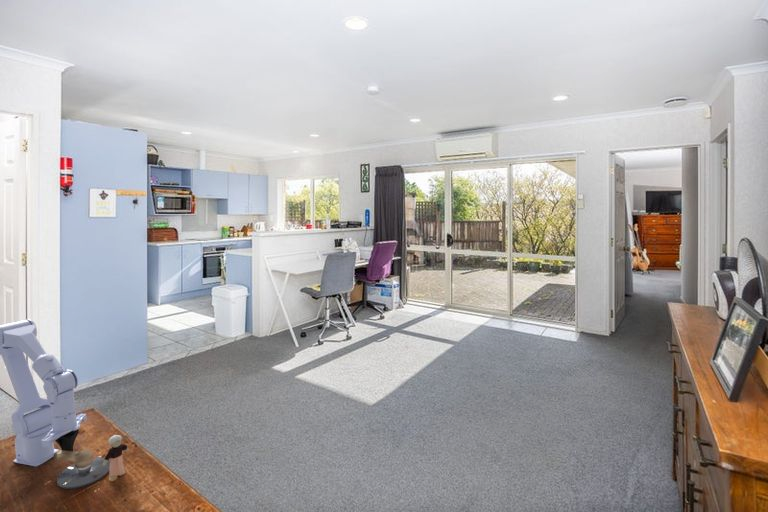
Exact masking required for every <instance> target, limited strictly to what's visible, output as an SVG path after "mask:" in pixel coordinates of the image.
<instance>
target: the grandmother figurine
mask: <svg viewBox="0 0 768 512" xmlns="http://www.w3.org/2000/svg"><path fill="white" fill-rule="evenodd" d="M122 440H123V437H122V435H120V434H119V435H118V434H113V435H112V436H111V437H110V438H109V439H108V444H109V445H110V446H111V448H109V450H108V451H107V453H106V455H105V456H104V457H103V458H104V463H103V464H102V465H103V466H106V464H107V462H108V460H110V467H109V472H108V475H109V476H108V480H109V481H110V482H115V481H116V480H118V477H121V476H124V475H125V474H126V471H125V466H124V459H123V458H124V457H123V451H125V453H129V452H130V448H129V447H128V445H126V444H125V443H124V444H123V443H122Z"/></svg>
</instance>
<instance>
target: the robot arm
mask: <svg viewBox="0 0 768 512" xmlns="http://www.w3.org/2000/svg"><path fill="white" fill-rule="evenodd" d="M37 333H38V330H37V326H36V323H35V322H34V321H33V320H32V319H30V318H25V319H23V320H19V321H14V322H10V323H5V324H4V323H3V324H0V356H1V358H2V360H3V363H4V365H5V368H6V372H7V373H8V376H9V379H10V382H11V385H12V387H13V390H14V393H15V395H16V399H17V400H18V401H17V402H18V404H19V405H18V407H17V408H16V409H15V410H14V412H13V413H12V414H11V416H10V418H11V421H12V430H13V432H14V434H15V435H16V437H15V439H14V449H15V450H14V451H15V459H13V463H16V464H22V465H25V466H26V465H28V466H31V467H39V466H40V465H42V464H44V463H45V462H47V461H48V460H50V459H52V458H54V454H53V453H55V452H56V451H58V450H59V449H57V448H55V442H56V443H57V445H59V447H60V450H64V451H74V445H75V442H76V439H77V437H78V435H79V433H80V431H79V430H80V428H81V425H80V424H81V423H82V422H86V421H87V419H88V418H87V413H79V414H77V412H76V410H77V408H76V399H75V391H74V389H76V388H77V387H78V385H79V381H78V376H77V374H76V373H75V371H73V370H72V369H69V368H67V367H66V368H65V367H64V366H63V365H62V364H61V362H60V361H59V360H58V359H57V358H56V356H55V355H54V354H47V352H46V351H45V349H44V347H43V346H42V345H41V342H40V341H39V340H38V338H37V335H38V334H37ZM25 355H26V356H27V357H28V358H29V359H30V360H31V361H32V362H33V363H32V365H31V367H32V370H33V371H34V372H35V374H36V375H37V376H38V377H39V379H40V380H41V381H42V383H43V385H42V386H43V391H44V393H45V395H46V398H44V397H41V396H40V394H39V391H38V388H37V385H36V383H35V380H34V378H33V375H32V372H31V369H30V366H29V363H28V362H27V359H26V356H25Z"/></svg>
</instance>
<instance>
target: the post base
mask: <svg viewBox="0 0 768 512" xmlns="http://www.w3.org/2000/svg"><path fill="white" fill-rule="evenodd" d="M104 458H105V457H93V462H92V464H90V465H89V466H86V467H84V468H76V467H75V463H73V464H71V465H69V466H67V467H66V468H65V469H63V470H61V472H60V473H59V474H58V475H57V479H56V484H57V486H58V487H59V488H60V489H64V490H75V489H79V488H80V489H81V488H83V487H88V486H89V485H93V484H94V483H96V482H98V481H100V480H101V479H103V478H105V477H106V476H107V475H109V467H110V459H109V460H108V462H107V464H106V466H103V465H102V464H103V463H104ZM106 474H107V475H106Z"/></svg>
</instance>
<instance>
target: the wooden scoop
mask: <svg viewBox="0 0 768 512" xmlns="http://www.w3.org/2000/svg"><path fill="white" fill-rule="evenodd" d="M53 454H54V457H53V460H54V461H55V460H56V461H64V462H65V461H66V462H67V461H68V462H73V464H75V467H76V468H84V467H86V466H89V465H90V464H92V462H93V458H94V456H93V455H94V454H93V450H92V449H84V450H83V449H82V450H80V451H74V450H73V451H64V450H61V449H58V451H56V452H55V453H53Z"/></svg>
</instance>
